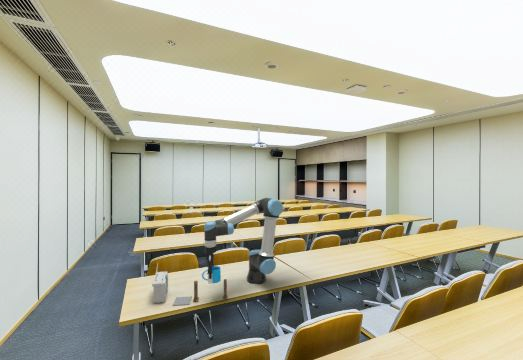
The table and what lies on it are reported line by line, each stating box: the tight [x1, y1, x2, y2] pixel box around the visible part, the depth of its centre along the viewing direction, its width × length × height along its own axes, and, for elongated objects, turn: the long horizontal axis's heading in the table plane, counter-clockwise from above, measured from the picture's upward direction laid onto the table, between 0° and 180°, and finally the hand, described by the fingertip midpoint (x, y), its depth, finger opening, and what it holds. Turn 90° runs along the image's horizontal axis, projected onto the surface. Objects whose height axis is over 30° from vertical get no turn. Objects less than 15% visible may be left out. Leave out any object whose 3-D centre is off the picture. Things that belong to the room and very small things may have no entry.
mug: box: [201, 265, 222, 284], centre depth 163 cm, size 12×8×8 cm
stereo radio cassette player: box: [151, 262, 169, 304], centre depth 167 cm, size 21×8×20 cm, turn 17°
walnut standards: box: [192, 278, 229, 303], centre depth 163 cm, size 22×4×13 cm, turn 97°
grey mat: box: [172, 296, 192, 307], centre depth 161 cm, size 10×10×1 cm
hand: (211, 280), depth 163 cm, fingers closed on mug, 8 cm apart
